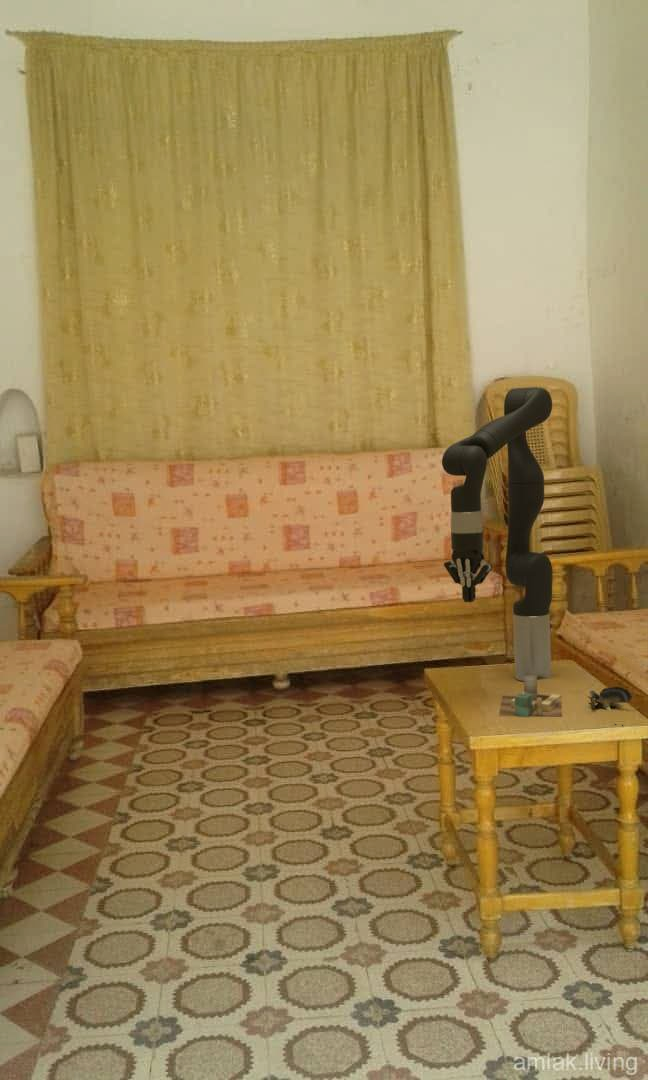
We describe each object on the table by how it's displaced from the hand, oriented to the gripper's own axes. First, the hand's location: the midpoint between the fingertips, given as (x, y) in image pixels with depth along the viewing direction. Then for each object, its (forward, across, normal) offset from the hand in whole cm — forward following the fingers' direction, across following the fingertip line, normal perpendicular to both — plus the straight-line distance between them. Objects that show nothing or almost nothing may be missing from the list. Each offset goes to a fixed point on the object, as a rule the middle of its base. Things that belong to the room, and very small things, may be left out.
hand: (469, 601), depth 252 cm
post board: (+25, +15, +2) cm, 29 cm away
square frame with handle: (+24, +16, +1) cm, 29 cm away
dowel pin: (+24, +21, -4) cm, 32 cm away
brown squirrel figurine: (+25, +31, +10) cm, 41 cm away
